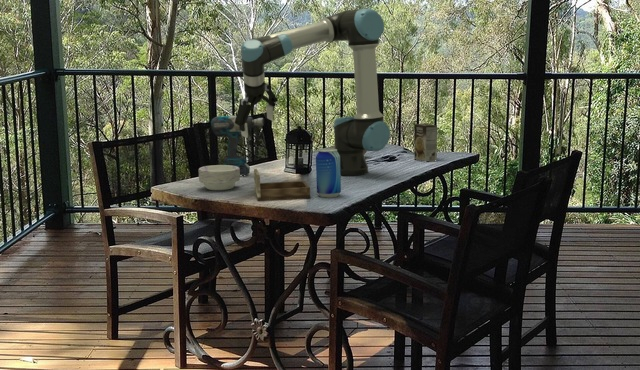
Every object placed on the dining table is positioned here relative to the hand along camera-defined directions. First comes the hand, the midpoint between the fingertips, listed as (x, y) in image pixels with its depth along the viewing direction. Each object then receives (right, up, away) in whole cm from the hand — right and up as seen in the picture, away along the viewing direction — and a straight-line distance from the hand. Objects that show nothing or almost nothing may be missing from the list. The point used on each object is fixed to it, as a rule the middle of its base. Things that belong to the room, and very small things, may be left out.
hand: (257, 127), depth 295 cm
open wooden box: (+10, -25, -20) cm, 34 cm away
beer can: (+26, -25, -21) cm, 42 cm away
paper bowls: (-14, -23, -1) cm, 27 cm away
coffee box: (+70, -11, +55) cm, 90 cm away
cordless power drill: (-9, -18, +27) cm, 34 cm away
